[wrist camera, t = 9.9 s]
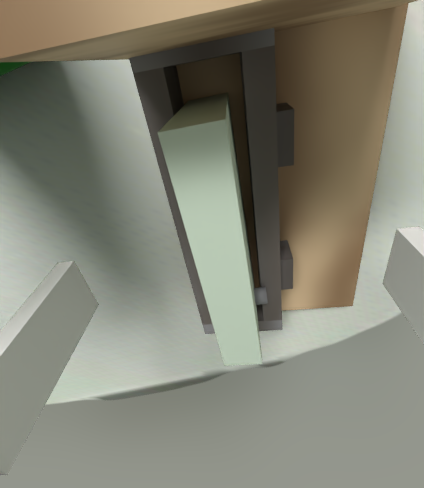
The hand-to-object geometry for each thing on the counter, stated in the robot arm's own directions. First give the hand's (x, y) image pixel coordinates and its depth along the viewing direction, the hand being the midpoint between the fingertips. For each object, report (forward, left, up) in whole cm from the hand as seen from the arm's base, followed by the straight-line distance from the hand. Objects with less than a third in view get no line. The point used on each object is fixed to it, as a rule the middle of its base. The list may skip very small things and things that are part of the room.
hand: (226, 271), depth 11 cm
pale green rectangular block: (0, 0, -6) cm, 6 cm away
